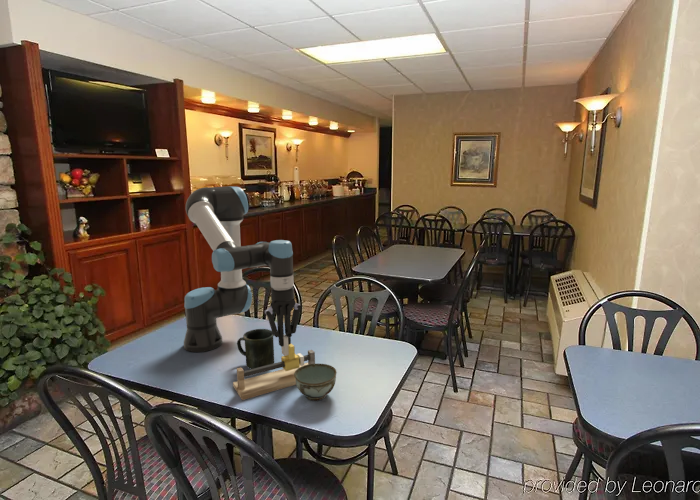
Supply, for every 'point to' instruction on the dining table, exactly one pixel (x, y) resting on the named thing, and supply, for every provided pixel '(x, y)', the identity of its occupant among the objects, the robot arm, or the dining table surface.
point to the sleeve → (290, 359)
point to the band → (301, 359)
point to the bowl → (315, 380)
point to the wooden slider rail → (266, 381)
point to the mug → (257, 348)
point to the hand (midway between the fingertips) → (285, 354)
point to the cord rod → (269, 367)
